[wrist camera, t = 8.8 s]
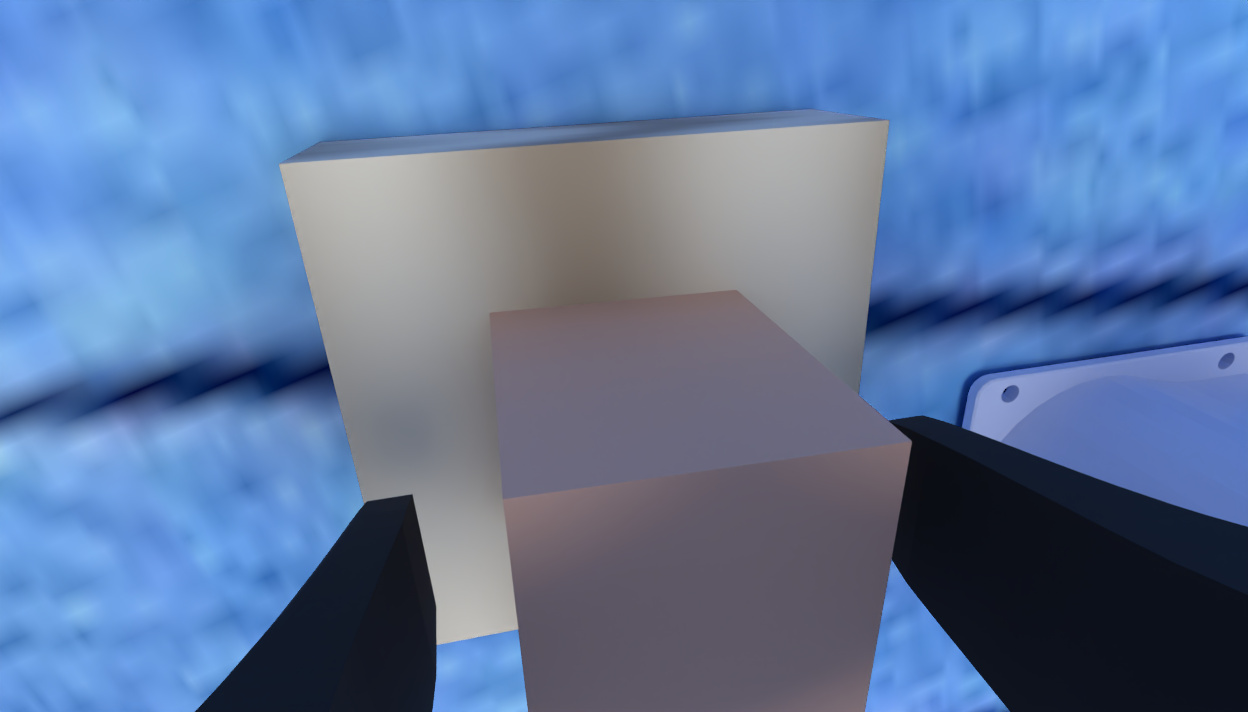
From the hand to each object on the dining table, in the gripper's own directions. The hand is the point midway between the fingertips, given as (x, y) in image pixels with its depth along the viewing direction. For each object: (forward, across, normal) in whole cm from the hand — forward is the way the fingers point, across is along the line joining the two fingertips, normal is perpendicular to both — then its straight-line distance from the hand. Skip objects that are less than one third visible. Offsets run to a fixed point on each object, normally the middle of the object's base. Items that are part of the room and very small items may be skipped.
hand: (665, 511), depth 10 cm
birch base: (+6, 0, 0) cm, 6 cm away
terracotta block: (+3, 0, 0) cm, 3 cm away
